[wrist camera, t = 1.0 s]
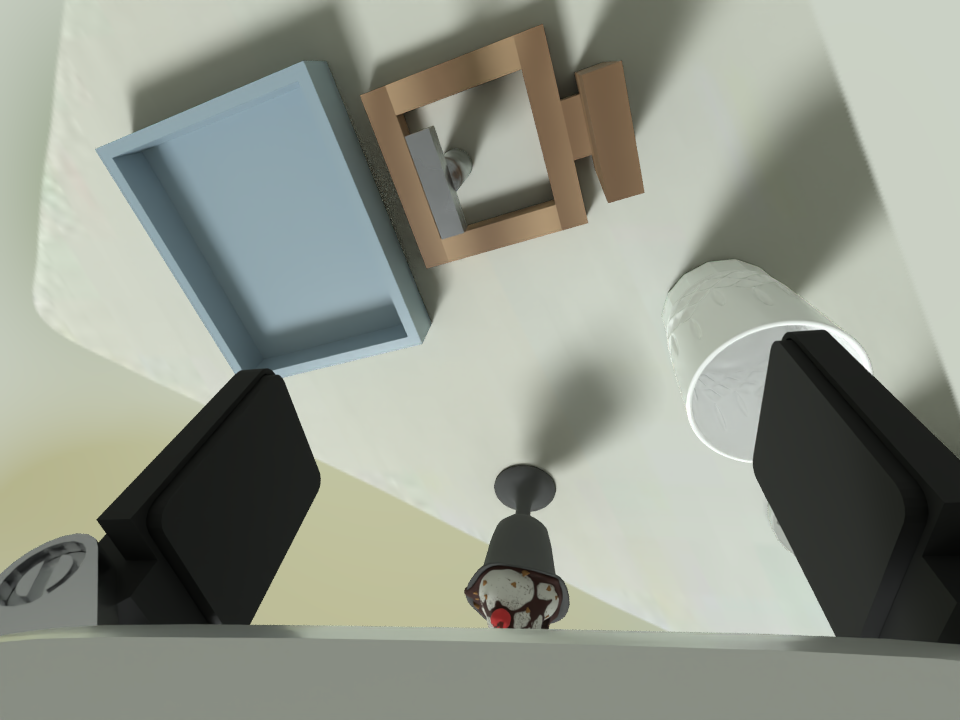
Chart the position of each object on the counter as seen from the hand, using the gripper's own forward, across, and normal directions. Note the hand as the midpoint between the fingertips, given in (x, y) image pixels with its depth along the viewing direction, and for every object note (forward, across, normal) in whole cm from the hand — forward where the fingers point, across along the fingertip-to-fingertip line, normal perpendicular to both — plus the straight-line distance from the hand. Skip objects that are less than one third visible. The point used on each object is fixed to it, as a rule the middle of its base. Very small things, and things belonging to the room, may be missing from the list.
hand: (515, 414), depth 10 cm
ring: (+23, +2, -2) cm, 23 cm away
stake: (+23, +4, -1) cm, 24 cm away
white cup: (+23, -11, +9) cm, 27 cm away
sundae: (+23, +3, +24) cm, 33 cm away
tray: (+23, +16, +2) cm, 28 cm away
